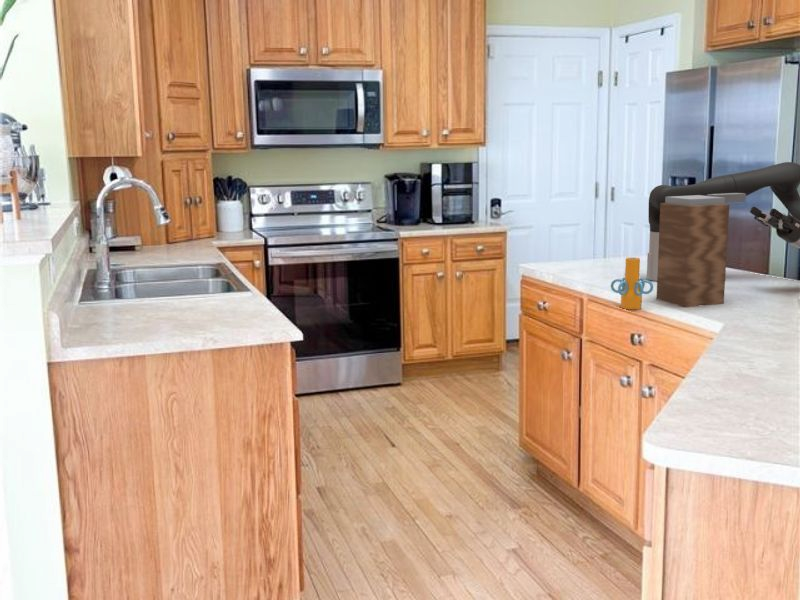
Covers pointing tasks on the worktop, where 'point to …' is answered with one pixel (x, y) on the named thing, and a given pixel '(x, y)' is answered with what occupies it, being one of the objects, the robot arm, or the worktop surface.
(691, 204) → the lid
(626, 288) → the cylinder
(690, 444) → the worktop surface
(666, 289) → the post
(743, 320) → the worktop surface
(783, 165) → the robot arm
